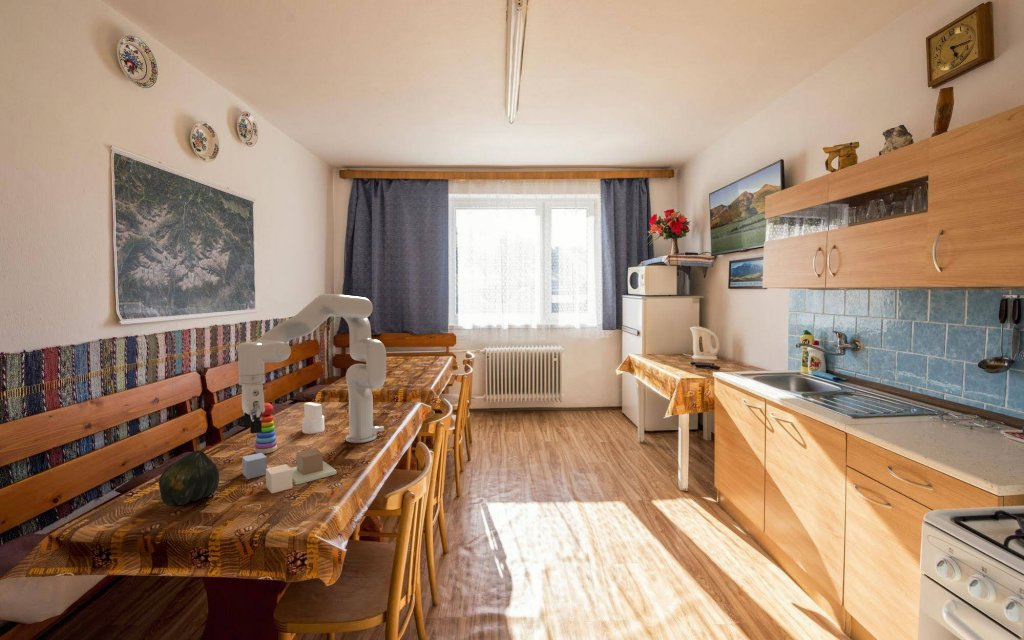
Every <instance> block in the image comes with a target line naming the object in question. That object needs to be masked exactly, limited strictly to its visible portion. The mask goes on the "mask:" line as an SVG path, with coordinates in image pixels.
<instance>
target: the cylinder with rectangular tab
mask: <svg viewBox="0 0 1024 640" xmlns="http://www.w3.org/2000/svg"><path fill="white" fill-rule="evenodd" d="M303 406H304V407H303V408H304V416H303V417H302V418H301V424H302V426H301V427H302V428H301V430H302V433H303V434H307V435H310V434H319V433H322V432H324V431H325V415H323V405H322V404H320V403H316V402H312V401H310V402H304V405H303Z"/></svg>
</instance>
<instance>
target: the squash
mask: <svg viewBox="0 0 1024 640" xmlns="http://www.w3.org/2000/svg"><path fill="white" fill-rule="evenodd" d="M219 484H220V472H219V469H218V466H217V465H216V464H215V462H213V460H211V459H210V457H209V456H207V455H206V453H205V452H204V451H203V450H201V449H199V450H195V451H194V450H193V451H191V452H189V453H187V454H185V455H184V456H182V457H181V458H179V459H177V460H176V461H174V462H173V463H171V464H170V465H168V466H167V467H165V469H164V470H163V471H162V473H161V475H160V477H159V479H158V490H159V493H160V498H161V500H162V503H164V504H165V505H167V506H170V507H171V506H177V505H180V506H184V505H187V504H188V503H189V502H190V501H192V502H195V501H199V500H200V499H203V498H206V497H208V496H211V495H213V494H214V493H215V492H216V490H218V487H219Z"/></svg>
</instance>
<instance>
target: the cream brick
mask: <svg viewBox="0 0 1024 640" xmlns="http://www.w3.org/2000/svg"><path fill="white" fill-rule="evenodd" d="M291 468H292V467H290V466H289V465H288V464H287V463H285V464H281V465H278V466H277V465H276V466H273V467H272V466H271V467H269V468H268V467H267V469H266V475H265V485H266V488H267V490H268V491H269V492H270V493H271V494H275V493H279V492H282V491H287V490H290V489H293V487H294V486H293V481H292V469H291Z"/></svg>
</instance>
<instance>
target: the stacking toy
mask: <svg viewBox="0 0 1024 640" xmlns="http://www.w3.org/2000/svg"><path fill="white" fill-rule="evenodd" d="M264 408H265V411H264V413H261V418H262V432H260V433H255V434H256V436H257V437H256V438H255V443H254V449H253V451H254V454H257V453H263V454H264V455H265V454H272V453H274V452H275V451H277V450H278V445H277V436H276V431H275V429H276V427H275V425H274V424H275V422H274V415H273V413H274V411H275V410H274V405H272V403H269V402H264Z"/></svg>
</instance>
